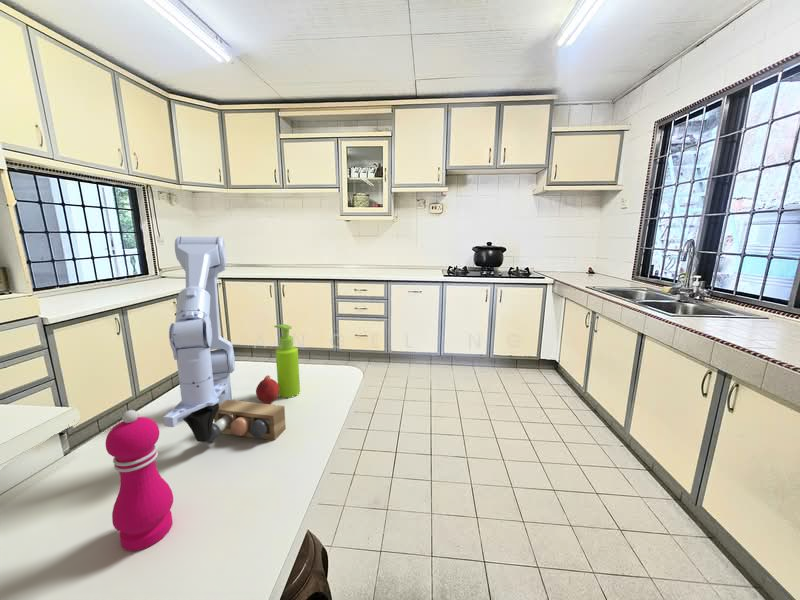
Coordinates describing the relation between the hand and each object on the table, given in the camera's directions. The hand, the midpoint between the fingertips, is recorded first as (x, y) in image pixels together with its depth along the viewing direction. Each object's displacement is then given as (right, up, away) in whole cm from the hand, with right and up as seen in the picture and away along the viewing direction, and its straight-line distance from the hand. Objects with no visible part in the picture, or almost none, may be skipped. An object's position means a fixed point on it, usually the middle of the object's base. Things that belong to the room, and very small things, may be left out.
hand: (203, 439), depth 69 cm
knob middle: (+6, 0, +7) cm, 9 cm away
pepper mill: (+3, -7, -18) cm, 20 cm away
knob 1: (+1, -1, +4) cm, 5 cm away
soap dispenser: (+8, +2, +27) cm, 29 cm away
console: (+6, -1, +8) cm, 10 cm away
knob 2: (+10, 0, +6) cm, 12 cm away
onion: (+5, +1, +21) cm, 22 cm away
